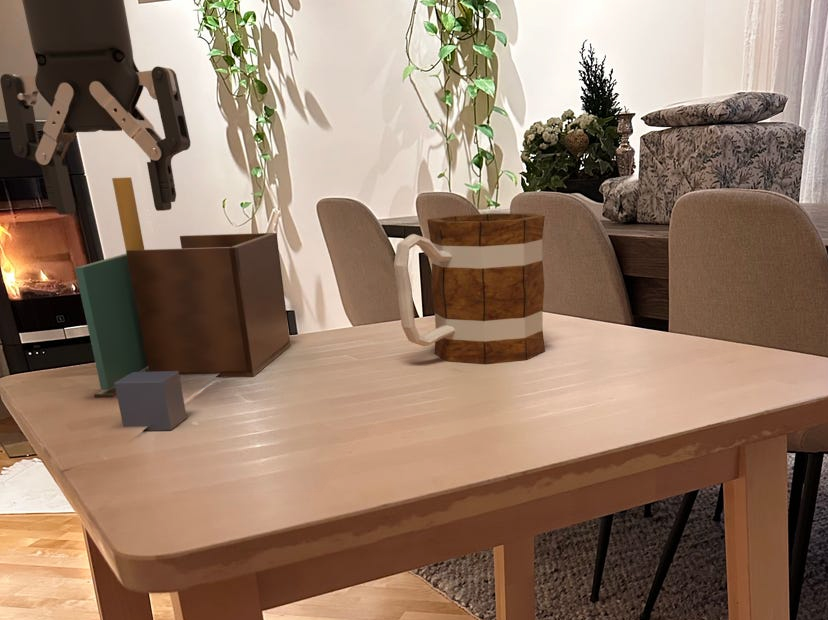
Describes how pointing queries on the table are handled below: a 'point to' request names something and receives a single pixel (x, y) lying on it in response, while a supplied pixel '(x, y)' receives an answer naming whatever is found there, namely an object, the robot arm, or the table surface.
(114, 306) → the sliding door
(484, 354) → the mug
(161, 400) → the block
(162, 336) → the cubby
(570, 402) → the table surface
